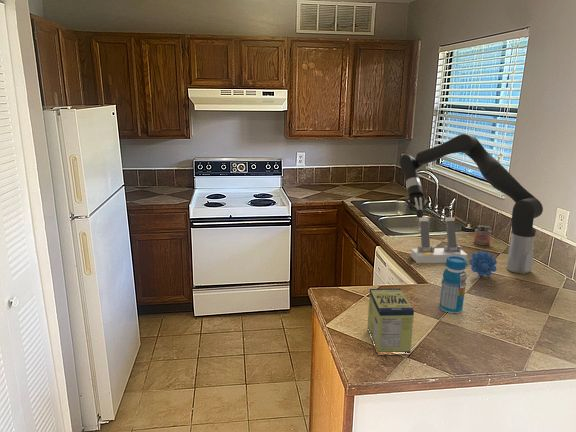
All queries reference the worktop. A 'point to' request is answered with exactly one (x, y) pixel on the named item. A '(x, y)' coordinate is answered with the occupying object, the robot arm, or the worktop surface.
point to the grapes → (483, 263)
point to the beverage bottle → (453, 285)
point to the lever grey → (451, 233)
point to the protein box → (390, 320)
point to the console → (436, 254)
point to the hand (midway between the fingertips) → (420, 217)
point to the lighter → (482, 235)
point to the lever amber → (424, 234)
